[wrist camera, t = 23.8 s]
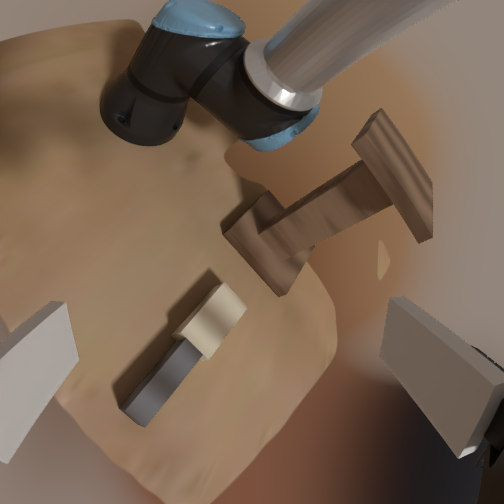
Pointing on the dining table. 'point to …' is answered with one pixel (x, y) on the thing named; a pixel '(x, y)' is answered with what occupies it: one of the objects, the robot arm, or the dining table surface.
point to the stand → (336, 206)
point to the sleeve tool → (186, 352)
